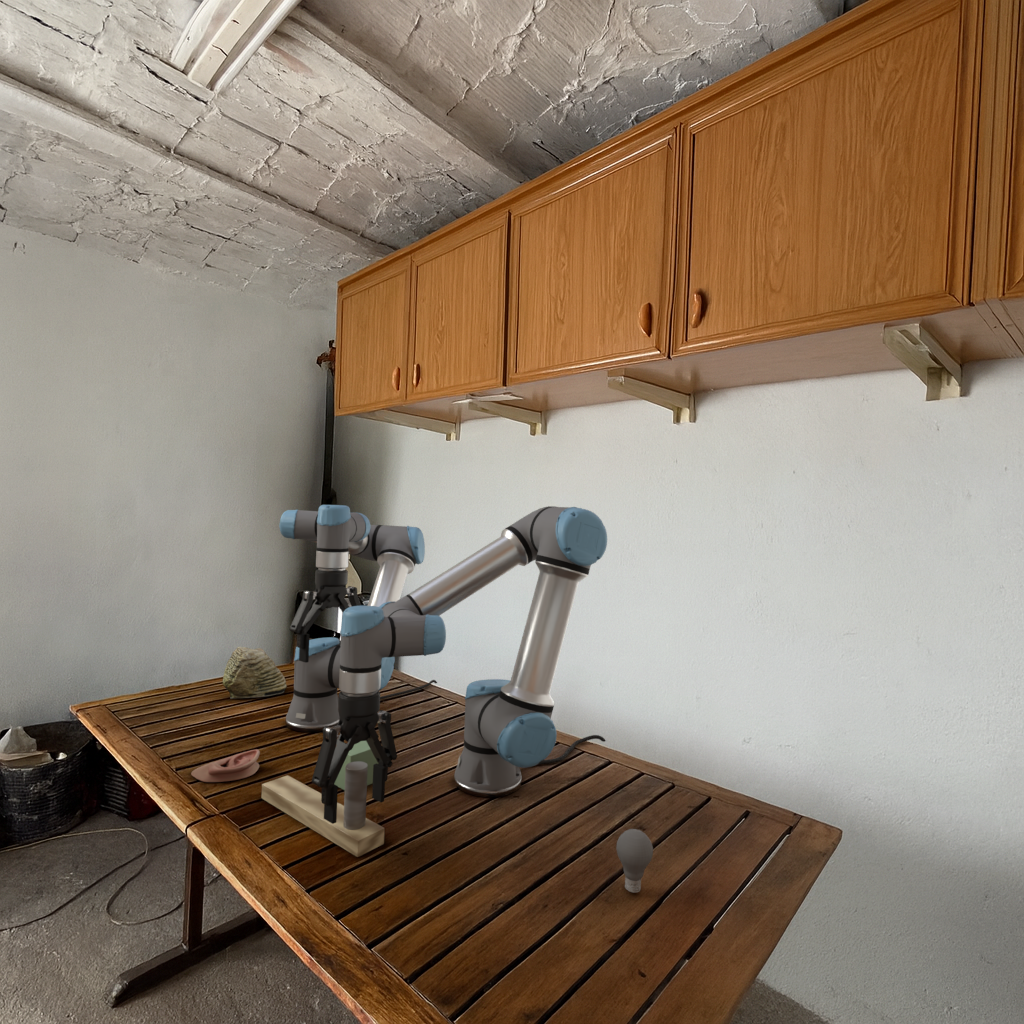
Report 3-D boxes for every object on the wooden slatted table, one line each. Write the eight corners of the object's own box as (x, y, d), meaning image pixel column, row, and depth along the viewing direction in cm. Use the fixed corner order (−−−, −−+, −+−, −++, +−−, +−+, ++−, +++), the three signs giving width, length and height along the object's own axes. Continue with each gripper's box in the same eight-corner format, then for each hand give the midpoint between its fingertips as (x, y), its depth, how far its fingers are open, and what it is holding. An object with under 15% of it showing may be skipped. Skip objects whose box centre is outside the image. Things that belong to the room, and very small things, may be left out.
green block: (361, 772, 146) (363, 738, 146) (378, 781, 142) (380, 745, 142) (332, 784, 140) (333, 748, 140) (349, 792, 136) (350, 756, 136)
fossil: (218, 695, 195) (220, 647, 195) (278, 685, 208) (279, 640, 207) (228, 703, 189) (230, 653, 188) (289, 692, 201) (290, 645, 201)
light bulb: (610, 879, 108) (613, 822, 108) (644, 879, 109) (647, 822, 109) (619, 902, 102) (622, 840, 102) (655, 901, 103) (658, 840, 103)
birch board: (287, 788, 137) (289, 724, 136) (384, 844, 117) (387, 768, 116) (261, 798, 132) (263, 731, 132) (357, 857, 112) (360, 779, 112)
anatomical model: (182, 760, 139) (216, 741, 150) (181, 778, 139) (216, 758, 150) (236, 768, 136) (267, 748, 147) (235, 786, 136) (266, 765, 147)
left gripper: (363, 564, 165) (360, 645, 165) (276, 570, 145) (272, 662, 146) (382, 567, 160) (379, 651, 160) (294, 573, 140) (290, 668, 141)
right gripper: (393, 675, 128) (389, 783, 129) (293, 699, 110) (288, 825, 111) (419, 682, 124) (414, 795, 124) (318, 709, 106) (313, 841, 106)
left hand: (328, 656), depth 153 cm, fingers open, 13 cm apart
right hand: (354, 809), depth 117 cm, fingers open, 10 cm apart
